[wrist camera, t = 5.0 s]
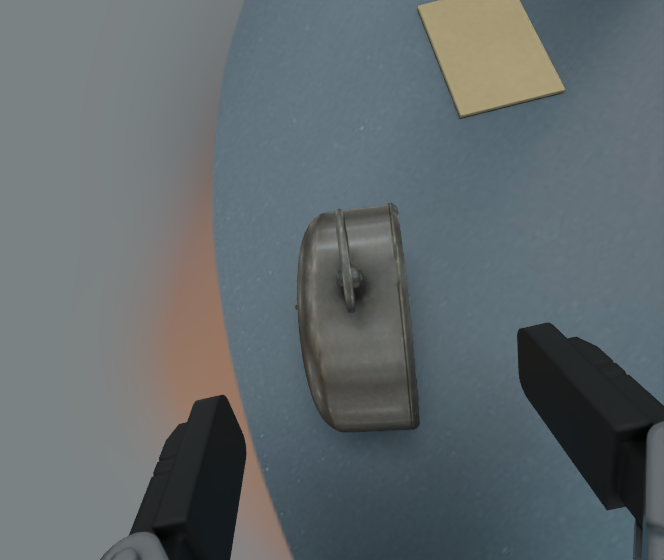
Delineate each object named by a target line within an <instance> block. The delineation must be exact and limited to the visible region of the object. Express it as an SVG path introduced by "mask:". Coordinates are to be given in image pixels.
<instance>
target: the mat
mask: <svg viewBox="0 0 664 560" xmlns="http://www.w3.org/2000/svg"><path fill="white" fill-rule="evenodd" d="M418 12H419V14H420V17H421V19H422V22H423V24H424V27H425V30H426V32H427V35H428V37H429V40H430V42H431V45H432V48H433V50H434V53H435V55H436V58H437V60H438V63H439V65H440V68H441V71H442V73H443V76H444V78H445V81H446V83H447V86H448V89H449V91H450V94H451V96H452V99H453V101H454V104H455V107H456V109H457V112H458V114H459V117H460V118H463V117H467V116H471V115H475V114H479V113H483V112H487V111H491V110H495V109H499V108H503V107H507V106H511V105H515V104H519V103H523V102H527V101H531V100H535V99H539V98H543V97H547V96H551V95H555V94H559V93H563V92H564V91H565V88H564V86H563V84H562V82H561V80H560V78H559V76H558V74H557V72H556V70H555V68H554V67H553V65H552V63H551V61H550V59H549V57H548V55H547V53H546V51H545V49H544V47H543V45H542V43H541V41H540V39H539V37H538V35H537V33H536V31H535V30H534V28H533V26H532V24H531V22H530V20H529V18H528V16H527V14H526V12H525V10H524V8H523V6H522V4H521V2H520V0H439V1H435V2H431V3H427V4H424V5H420V6H418Z"/></svg>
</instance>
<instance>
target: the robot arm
mask: <svg viewBox="0 0 664 560" xmlns="http://www.w3.org/2000/svg"><path fill="white" fill-rule="evenodd" d="M517 343H518V368H519V379H520V383H521V386H522V389H523V391H524V393H525V395H526V397H527V398H528V400H529V401H530V403H531V404H532V406H533V407H534V408H535V410H536V411H537V413H538V414H539V415H540V417H541V418H542V420H543V421H544V422H545V424H546V425H547V427H548V428H549V429H550V431H551V432H552V434H553V435H554V437H555V438H556V439H557V441H558V442H559V444H560V445H561V446H562V448H563V449H564V451H565V452H566V453H567V455H568V456H569V458H570V459H571V460H572V462H573V463H574V465H575V466H576V467H577V469H578V470H579V472H580V473H581V475H582V476H583V477H584V479H585V480H586V482H587V483H588V484H589V486H590V487H591V489H592V490H593V491H594V493H595V494H596V496H597V497H598V498H599V500H600V501H601V503H602V504H603V505H604V507H605V508H606V510H611V509H616V508H621V507H627V508H628V510H629V511H630V512H631V514H632V515H633V516H634V518H635V525H634V544H633V560H664V406H663V405H662V404H661V403H660V402H659V401H658V400H657V399H656V398H654V397H653V396H652V395H651V394H650V393H649V392H648V391H647V390H645V389H644V388H643V387H642V386H641V385H640V384H639V383H638V382H637V381H635V380H634V379H633V378H632V377H631V376H630V375H626V373H625V371H624V370H623V369H622V368H621V367H620V366H619V365H617V364H616V363H613V360H612V359H611V358H610V357H609V356H607V355H606V354H605V353H604V352H603V351H602V350H601V349H600V348H598V347H597V346H595V345H593V344H591V343H589V342H587V341H584V340H582V339H580V338H578V337H572V338H568V339H567V338H566V337H565V336H564V335H563V334H562V333H561V332H560V331H559V330H558V329H557V328H556V327H555V326H554V325H552V324H551V323H543V324H539V325H534V326H530V327H526V328H521V329H519V330H518V333H517ZM245 461H246V444H245V439H244V435H243V433H242V430H241V429H240V426H239V424H238V422H237V419H236V417H235V415H234V412H233V410H232V408H231V406H230V403H229V401H228V399H227V398H226V396H224V395H219V396H215V397H210V398H206V399H202V400H197V401H195V403H194V405H193V407H192V410H191V413H190V416H189V418H188V421H187V422H186V423H182V424H179V425H178V426H177V427H176V429H175V430H174V431H173V432H172V434H171V435H170V436H169V438H168V439H167V440H166V442H165V444H164V447H163V450H162V452H161V455H160V457H159V462H157V465H156V467H155V470H154V473H153V474H154V476H153V477H152V478H151V480H150V483H149V485H148V488H147V490H146V493H145V495H144V498H143V501H142V503H141V506H140V509H139V511H138V514H137V516H136V519H135V521H134V524H133V526H132V529H131V531H130V534H129V536H128V537H126V538H123V539H122V540H120V541H119V542H117V543H116V544H115V545H114V546H112V547H111V548H110V549H109V550H108V551H107V552H106V553H105V554H104V555H103V557H102V558H101V559H100V560H230V557H231V551H232V544H233V537H234V531H235V525H236V519H237V512H238V506H239V499H240V493H241V487H242V480H243V474H244V468H245Z"/></svg>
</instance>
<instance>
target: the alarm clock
mask: <svg viewBox="0 0 664 560" xmlns="http://www.w3.org/2000/svg"><path fill="white" fill-rule="evenodd" d="M297 300H298V305H296V306H295V309H296V310H297V309H298V322H299V333H300V342H301V349H302V356H303V362H304V368H305V372H306V376H307V381H308V385H309V388H310V391H311V395H312V398H313V400H314V403H315V405H316V407H317V409H318V411H319V413H320V415H321V416H322V418H323V419H324V420H325V422H326V423H327V424H328V425H330V426H331V427H332V428H334V429H335V430H338V431H340V432H366V431H386V430H414V429H416V428H417V427H418V426H419V424H420V422H419V406H418V390H417V380H416V374H415V362H414V350H413V335H412V324H411V317H410V307H409V299H408V288H407V279H406V271H405V262H404V254H403V248H402V239H401V231H400V224H399V216H398V210H397V207H396V206H395V205H394V204H392V203H388V204H387V205H380V206H373V207H365V208H357V209H349V210H341V209H338V210H336V211H333V212H327V213H323V214H320V215H318V216H317V217H316V218H315V219H314V220H313V221H312V222H311V224H310V225H309V226H308V228H307V230H306V232H305V234H304V237H303V240H302V244H301V248H300V255H299V263H298V278H297Z"/></svg>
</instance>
